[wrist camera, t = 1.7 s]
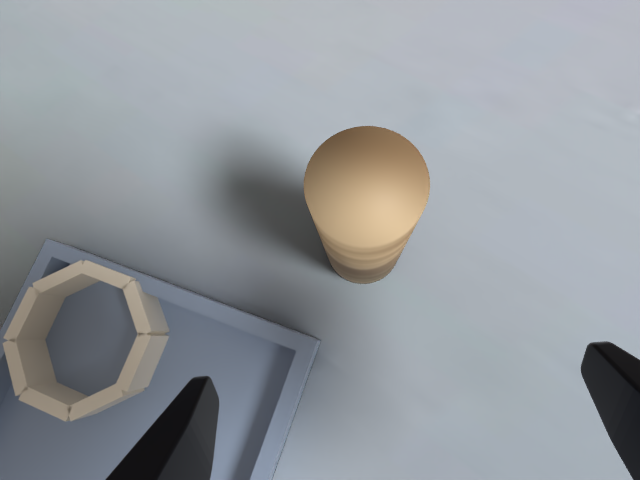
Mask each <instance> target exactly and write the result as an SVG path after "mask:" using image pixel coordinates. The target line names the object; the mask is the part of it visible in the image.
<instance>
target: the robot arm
mask: <svg viewBox="0 0 640 480" xmlns="http://www.w3.org/2000/svg"><path fill="white" fill-rule="evenodd" d="M581 373H582V377H583V379H584V381H585V384H586V386H587V388H588V390H589V393H590V395H591V397H592V399H593V402H594V404H595V406H596V408H597V410H598V413H599V415H600V417H601V419H602V422H603V424H604V426H605V428H606V431H607V433H608V435H609V437H610V439H611V441H612V443H613V445H614V446H615V448H616V450H617V452H618V454H619V455H620V457H621V459H622V461H623V462H624V464H625V466H626V468H627V469H628V471H629V473H630V475H631V476H632V478H633V480H640V360H639V359H637V358H636V357H634V356H633V355H631V354H629V353H628V352H626V351H624V350H623V349H621V348H619V347H618V346H616V345H614V344H613V343H610V342H605V341H604V342H593V343H590V344H589V345H588V346H587V348H586V351H585V355H584V358H583V361H582V364H581ZM218 413H219V397H218V394H217V391H216V389H215V386H214V384H213V382H212V379H211V378H210V377H209V376H198V377H193V378H192V379H191V380H190V381H189V382H188V383H187V384H186V385H185V387H184V388H183V389H182V390H181V391H180V392H179V394H178V395H177V396H176V397H175V398H174V400H173V401H172V402H171V403H170V404H169V405H168V407H167V408H166V409H165V410H164V411H163V412H162V414H161V415H160V416H159V417H158V418H157V419H156V421H155V422H154V423H153V424H152V425H151V427H150V428H149V429H148V430H147V431H146V432H145V434H144V435H143V436H142V437H141V438H140V439H139V441H138V442H137V443H136V444H135V445H134V446H133V448H132V449H131V450H130V451H129V452H128V454H127V455H126V456H125V457H124V458H123V459H122V461H121V462H120V463H119V464H118V465H117V466H116V468H115V469H114V470H113V471H112V472H111V473H110V475H109V476H108V477H107V478H106V479H105V480H210V477H211V472H212V466H213V458H214V449H215V440H216V431H217V422H218Z"/></svg>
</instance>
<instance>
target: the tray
mask: <svg viewBox="0 0 640 480" xmlns="http://www.w3.org/2000/svg"><path fill="white" fill-rule="evenodd" d="M320 341H321V340H319V339H317V338H314V337H311V336H309V335H306V334H303V333H301V332H298V331H295V330H293V329H290V328H287V327H285V326H282V325H279V324H277V323H274V322H271V321H269V320H266V319H263V318H261V317H258V316H256V315H253V314H250V313H248V312H245V311H242V310H240V309H237V308H234V307H232V306H229V305H226V304H224V303H221V302H218V301H216V300H213V299H210V298H208V297H205V296H202V295H200V294H197V293H194V292H192V291H189V290H187V289H184V288H181V287H179V286H176V285H173V284H171V283H168V282H165V281H163V280H160V279H157V278H155V277H152V276H149V275H147V274H144V273H141V272H139V271H136V270H133V269H131V268H128V267H126V266H123V265H120V264H118V263H115V262H112V261H110V260H107V259H104V258H102V257H99V256H96V255H94V254H91V253H88V252H86V251H83V250H80V249H78V248H75V247H72V246H69V245H66V244H63V243H60V242H56V241H53V240H50V239H47V238H46V240H45V242H44V244H43V246H42V248H41V250H40V252H39V254H38V256H37V258H36V260H35V262H34V264H33V266H32V268H31V270H30V272H29V274H28V276H27V278H26V280H25V282H24V284H23V286H22V288H21V290H20V292H19V294H18V296H17V298H16V300H15V302H14V304H13V306H12V308H11V310H10V312H9V314H8V316H7V318H6V320H5V322H4V324H3V326H2V328H1V330H0V480H105V479H106V478H107V477H108V476H109V475H110V473H111V472H112V471H113V470H114V469H115V468H116V466H117V465H118V464H119V463H120V462H121V461H122V459H123V458H124V457H125V456H126V455H127V454H128V452H129V451H130V450H131V449H132V448H133V446H134V445H135V444H136V443H137V442H138V441H139V439H140V438H141V437H142V436H143V435H144V434H145V432H146V431H147V430H148V429H149V428H150V427H151V425H152V424H153V423H154V422H155V421H156V419H157V418H158V417H159V416H160V415H161V414H162V412H163V411H164V410H165V409H166V408H167V407H168V405H169V404H170V403H171V402H172V401H173V400H174V398H175V397H176V396H177V395H178V394H179V392H180V391H181V390H182V389H183V388H184V387H185V385H186V384H187V383H188V382H189V381H190V380H191V379H192V378H193V377H198V376H209V377H210V378H211V379H212V382H213V384H214V386H215V389H216V391H217V394H218V397H219V413H218V422H217V431H216V440H215V449H214V458H213V466H212V472H211V477H210V480H272V478H273V476H274V473H275V470H276V467H277V464H278V461H279V458H280V456H281V453H282V450H283V447H284V444H285V441H286V438H287V436H288V433H289V430H290V427H291V424H292V421H293V418H294V416H295V413H296V410H297V407H298V404H299V401H300V399H301V396H302V393H303V390H304V387H305V384H306V381H307V379H308V376H309V373H310V370H311V367H312V364H313V361H314V359H315V356H316V353H317V350H318V347H319V344H320Z"/></svg>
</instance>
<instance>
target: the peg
mask: <svg viewBox="0 0 640 480" xmlns="http://www.w3.org/2000/svg"><path fill="white" fill-rule="evenodd" d="M429 191H430V178H429V172H428V169H427V166H426V163H425V161H424V159H423V157H422V155H421V154H420V152H419V151H418V150H417V148H416V147H415V146H414V145H413V144H412V143H411V142H410V141H408V140H407V139H406V138H404V137H403V136H401V135H400V134H398V133H396V132H394V131H391V130H388V129H385V128H381V127H374V126H360V127H354V128H350V129H346V130H344V131H341V132H339V133H337V134H335V135H333V136H332V137H330V138H329V139H327V140H326V141H325V142H324V143H323V144H322V145H321V146H320V147H319V148H318V149H317V150H316V151H315V153H314V154H313V156H312V157H311V159H310V161H309V163H308V166H307V169H306V172H305V177H304V195H305V199H306V203H307V206H308V208H309V211H310V213H311V216H312V218H313V221H314V223H315V226H316V228H317V231H318V233H319V236H320V238H321V241H322V243H323V246H324V249H325V251H326V254H327V256H328V259H329V261H330V264H331V265H332V267H333V269H334V270H335V271H336V272H337V273H338V274H339V275H340V276H341V277H343V278H344V279H346V280H348V281H350V282H354V283H359V284H368V283H373V282H376V281H378V280H380V279H382V278H384V277H385V276H386V275H388V274H389V273H390V272H391V270H392V269H393V268H394V266H395V264H396V262H397V260H398V258H399V256H400V255H401V253H402V251H403V249H404V247H405V245H406V243H407V241H408V239H409V237H410V235H411V234H412V232H413V230H414V228H415V226H416V224H417V222H418V220H419V218H420V216H421V214H422V213H423V211H424V209H425V206H426V204H427V201H428V197H429Z"/></svg>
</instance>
